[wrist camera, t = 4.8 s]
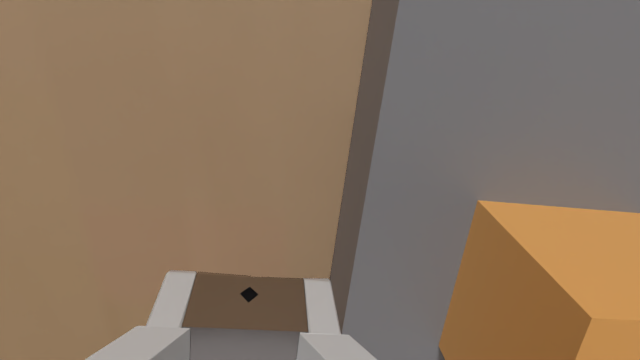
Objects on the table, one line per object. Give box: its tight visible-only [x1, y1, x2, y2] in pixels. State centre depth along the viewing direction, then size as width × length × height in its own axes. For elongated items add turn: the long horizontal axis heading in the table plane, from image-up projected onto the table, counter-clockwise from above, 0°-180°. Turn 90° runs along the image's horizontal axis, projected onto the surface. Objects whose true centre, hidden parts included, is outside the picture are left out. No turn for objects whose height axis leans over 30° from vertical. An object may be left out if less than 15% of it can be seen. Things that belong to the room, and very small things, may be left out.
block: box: [439, 200, 640, 360], centre depth 9 cm, size 4×4×4 cm
